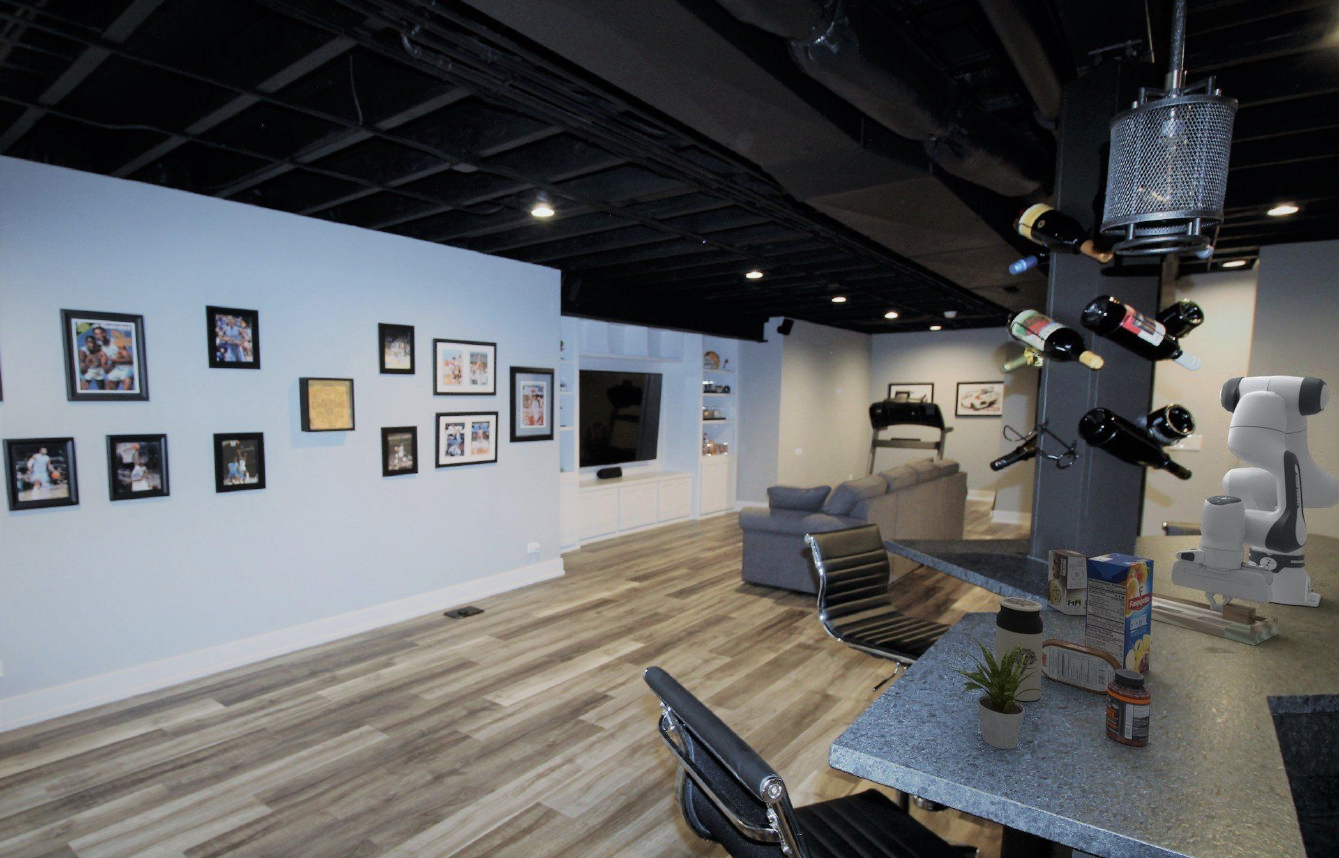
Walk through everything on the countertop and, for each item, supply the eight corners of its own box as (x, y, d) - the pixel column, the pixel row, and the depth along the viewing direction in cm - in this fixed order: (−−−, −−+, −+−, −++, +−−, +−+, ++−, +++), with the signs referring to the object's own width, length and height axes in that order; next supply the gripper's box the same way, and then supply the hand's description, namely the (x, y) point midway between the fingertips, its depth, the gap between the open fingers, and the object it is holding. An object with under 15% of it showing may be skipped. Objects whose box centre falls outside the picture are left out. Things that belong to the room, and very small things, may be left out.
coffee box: (1089, 615, 170) (1092, 556, 169) (1065, 614, 170) (1067, 556, 169) (1068, 604, 179) (1070, 548, 178) (1046, 604, 179) (1048, 548, 178)
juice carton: (1110, 657, 141) (1114, 552, 140) (1149, 670, 134) (1154, 559, 133) (1083, 669, 134) (1087, 558, 133) (1122, 682, 128) (1127, 566, 127)
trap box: (1143, 602, 182) (1144, 586, 182) (1277, 634, 157) (1278, 616, 157) (1117, 609, 174) (1118, 594, 174) (1253, 645, 149) (1254, 626, 149)
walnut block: (1230, 615, 163) (1230, 602, 163) (1255, 621, 159) (1256, 608, 159) (1222, 618, 161) (1222, 605, 161) (1247, 624, 156) (1247, 611, 156)
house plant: (969, 708, 116) (972, 621, 116) (1054, 736, 107) (1058, 642, 106) (940, 736, 106) (943, 642, 105) (1032, 770, 96) (1036, 666, 96)
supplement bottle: (1097, 727, 110) (1100, 664, 109) (1133, 730, 109) (1136, 666, 109) (1118, 746, 104) (1121, 679, 103) (1157, 748, 103) (1160, 681, 103)
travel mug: (994, 680, 128) (997, 594, 127) (1039, 689, 124) (1042, 600, 124) (993, 696, 121) (997, 605, 120) (1041, 706, 117) (1045, 611, 117)
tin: (1123, 696, 122) (1125, 653, 122) (1120, 701, 120) (1121, 658, 119) (1037, 672, 133) (1038, 633, 132) (1032, 676, 131) (1034, 636, 130)
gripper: (1278, 566, 156) (1275, 620, 156) (1180, 549, 173) (1177, 598, 174) (1268, 569, 152) (1265, 624, 153) (1169, 551, 170) (1166, 601, 171)
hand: (1218, 610), depth 163 cm, fingers closed
